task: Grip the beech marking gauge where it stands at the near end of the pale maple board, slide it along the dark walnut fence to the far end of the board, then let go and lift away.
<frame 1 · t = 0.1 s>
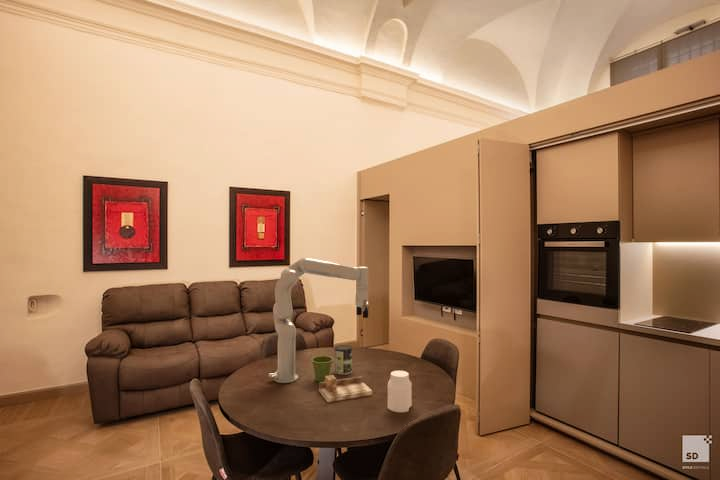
hand: (362, 316, 219), 31 cm above the table, tool pointing down, fingers open, 9 cm apart
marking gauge: (330, 389, 182), point 2 cm above the table, touching board
coffee can: (343, 371, 214), on the table
board: (345, 393, 183), on the table
plant pot: (322, 380, 201), on the table
jar: (399, 407, 167), on the table
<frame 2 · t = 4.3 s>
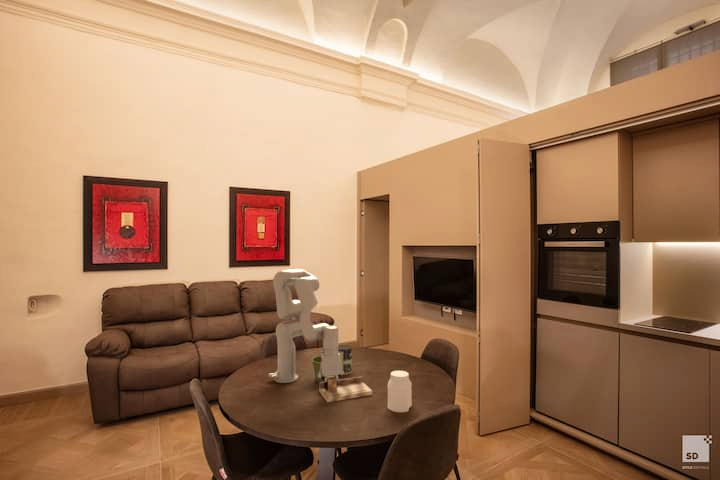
hand: (330, 388, 182), 3 cm above the table, tool pointing down, fingers closed on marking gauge, 4 cm apart
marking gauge: (330, 389, 182), point 2 cm above the table, touching board, gripper
everything else where it was.
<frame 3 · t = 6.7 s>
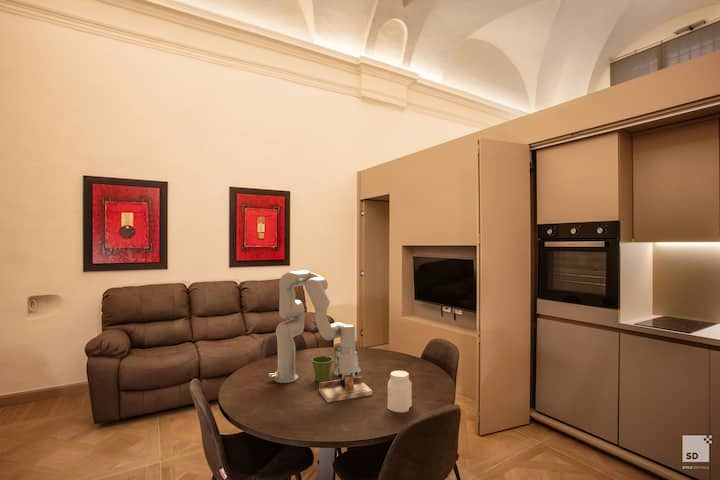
hand: (347, 385, 185), 3 cm above the table, tool pointing down, fingers closed on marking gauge, 4 cm apart
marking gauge: (347, 386, 185), point 2 cm above the table, touching gripper
everything else where it was.
when the fingers open (3 cm above the table, at t = 8.9 s): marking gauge stays where it is, resting on board.
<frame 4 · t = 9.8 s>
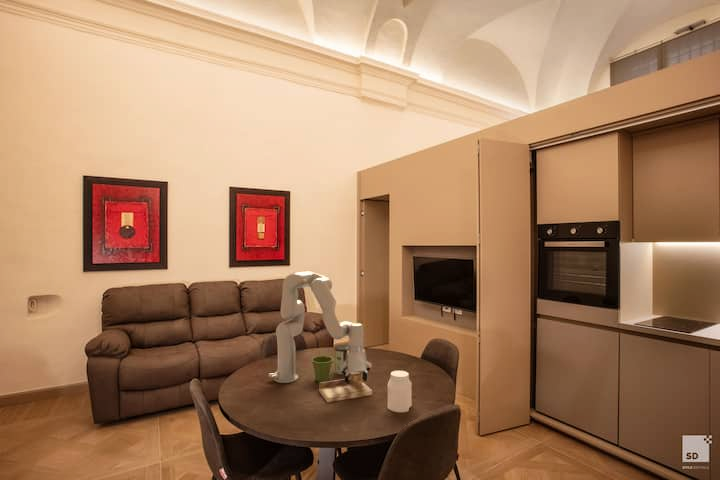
hand: (355, 381, 187), 4 cm above the table, tool pointing down, fingers open, 9 cm apart
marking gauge: (356, 385, 187), point 2 cm above the table, touching board
everything else where it was.
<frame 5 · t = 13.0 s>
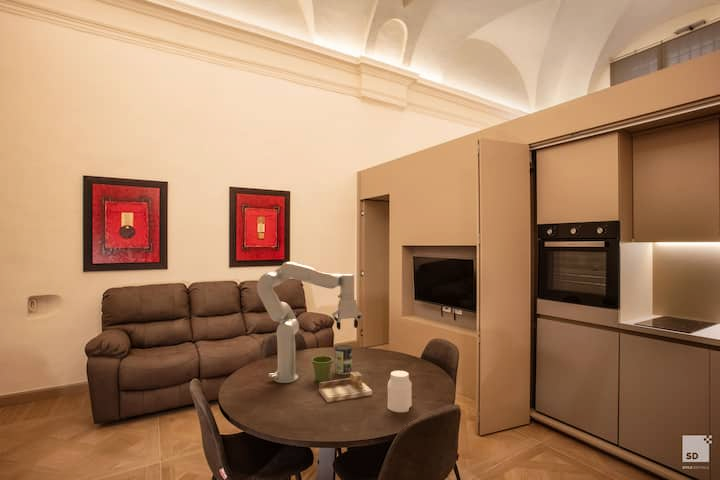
hand: (347, 328, 200), 28 cm above the table, tool pointing down, fingers open, 9 cm apart
nothing on the table moved.
at the end: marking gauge 0.0 cm from the target spot, point 2.0 cm above the table; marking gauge tilted 0°; the gripper is holding nothing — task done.
